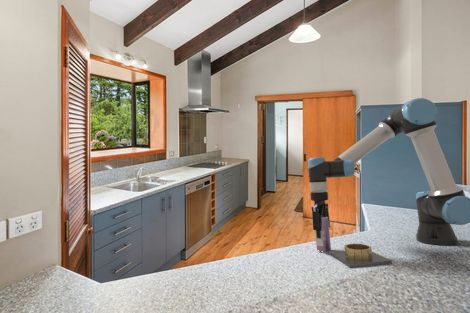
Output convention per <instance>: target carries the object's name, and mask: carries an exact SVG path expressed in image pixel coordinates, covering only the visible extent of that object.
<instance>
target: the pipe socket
mask: <svg viewBox="0 0 470 313" xmlns="http://www.w3.org/2000/svg"><path fill="white" fill-rule="evenodd" d="M343 249H344V250H338V251H330V252H329V256H331V257H333V258H334V259H336V260H337V261H338V262H340V263H342V264H343V265H345V266H347V267H348V268H350V269H351V268H353V269H354V268H362V267H363V268H364V267H375V266H382V265H383V266H385V265H392V264H393V262H392V261H393V260H391V259H389V258H387V257H385V256H382V255H380V254H378V253H376V252H375V251H373V249H372V246H370V245H367V244H365V243H347V244H344V246H343Z"/></svg>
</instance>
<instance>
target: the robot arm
mask: <svg viewBox="0 0 470 313" xmlns="http://www.w3.org/2000/svg"><path fill="white" fill-rule="evenodd" d="M437 115H438V109H437V106H436V104H435V103H434V102H433V101H431V100H430V99H427V98H423V97H417V98H413V99H410V100H408V101H406V102H405V103H403V104H402V105H400V106H398V107H396V108H394V109H393V111H392V112H390V113H389V114H388V115H387V116H386V117H385V118H384V119H383V120H382V121H380V122H379V123H378V126H377V127H375V129H373V130H372V131H370V132H369V133H368V134H367V135H365V136H363V137H362V138H361V139H360V140H358V141H357V142H356V143H354V144H353V145H352V146H350V147H349V148H347V149H346V150H345V151H344V152H342V153H341V154H339V155H338V156H337V157H336V158H334V159H333V160H330V161H329V160H328V161H327V160H326V159H325V156H324V157H323V156H321V157H319V156H318V157H317V156H316V157H310V158H309V159H308V160H307V167H308V168H307V170H308V179H309V181H308V182H309V184H308V187H309V189H310V190H309V191H310V201H312V202H314V204H313V206H311V209H310V210H311V212H312V213H311V214H312V229H313V231H315V230H316V234H315V240H316V239H317V245H318V246H324V243H323V231H322V230H321V225H322V216H325V217H326V216H327V217H328V222H329V228H331V222H330V213H329V203H326V201H328V200H329V192H328V182H327V179H331V178H348V177H353V176H354V175H355V172H356V171H355V170H356V166H355V164H356V163H358V162H359V161H361V160H362V159H363V158H364V157H366V156H368V155H369V154H370V153H371V152H373V151H375V150H376V148H378V147H379V146H381V145H382V144H383V143H385V142H386V141H389V139H393V138H396V136H398V135H400V134H403V133H404V134H405V136H407V137H409V138H410V140H411V142H412V144H413V147H414V150H415V152H416V155H417V158H418V160H419V163H420V165H421V168H422V170H423V173H424V175H425V177H426V180H427V183H428V186H429V189H430V190H427V191H426V190H425V191H418V192H416V194H415V201H416V208H417V215H418V216H417V218H418V226H417V233H416V235H415V239H416V241H417V242H420V243H424V244H428V245H436V246H454V245H455V246H456V245H457V244H459V240H458V237H457V235H456V233H455V231H454V229H453V227H452V225H456V226H464V225H468V224H469V223H470V197H468V196H466V195H465V192H464V191H465V190H464V189H463V187H461V186H458V185H457V184H456V182H455V179H454V176H453V174H452V172H451V169H450V167H449V165H448V162H447V160H446V156H445V154H444V152H443V150H442V147H441V145H440V142H439V139H438V137H437V135H436V132H435V130H436V127H437V126H438V125H437V122H436V120H435V119H436V117H437Z"/></svg>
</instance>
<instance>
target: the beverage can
mask: <svg viewBox="0 0 470 313" xmlns="http://www.w3.org/2000/svg"><path fill="white" fill-rule="evenodd" d="M321 230H322V231H323V243H324V246H318V245H317V239H316V238H315V245H316V250H317V251H318V250H319V251H323V252H327V253H330V252H332V251H331V250H332V246H331V234H330V227H329V222H328V217H327V216H326V217H325V216H322V225H321ZM314 232H315V233H314V234H315V235H316V230H314ZM319 251H318V252H319ZM329 251H330V252H329Z"/></svg>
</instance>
